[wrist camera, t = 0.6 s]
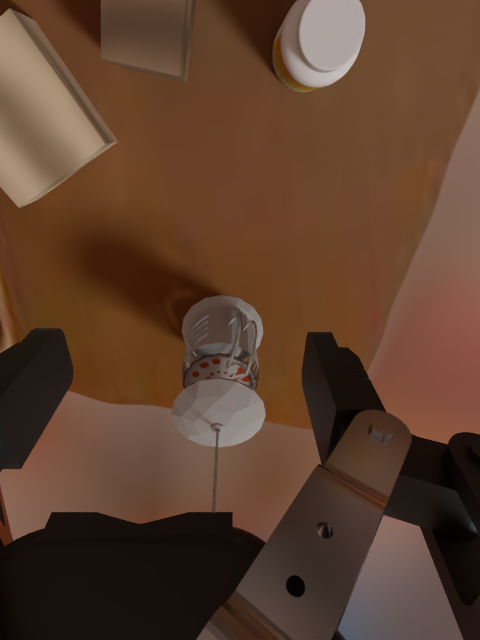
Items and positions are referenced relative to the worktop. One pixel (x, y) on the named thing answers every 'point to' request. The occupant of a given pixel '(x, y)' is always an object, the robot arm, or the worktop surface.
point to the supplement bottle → (318, 43)
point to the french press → (220, 375)
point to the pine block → (41, 114)
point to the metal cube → (148, 35)
